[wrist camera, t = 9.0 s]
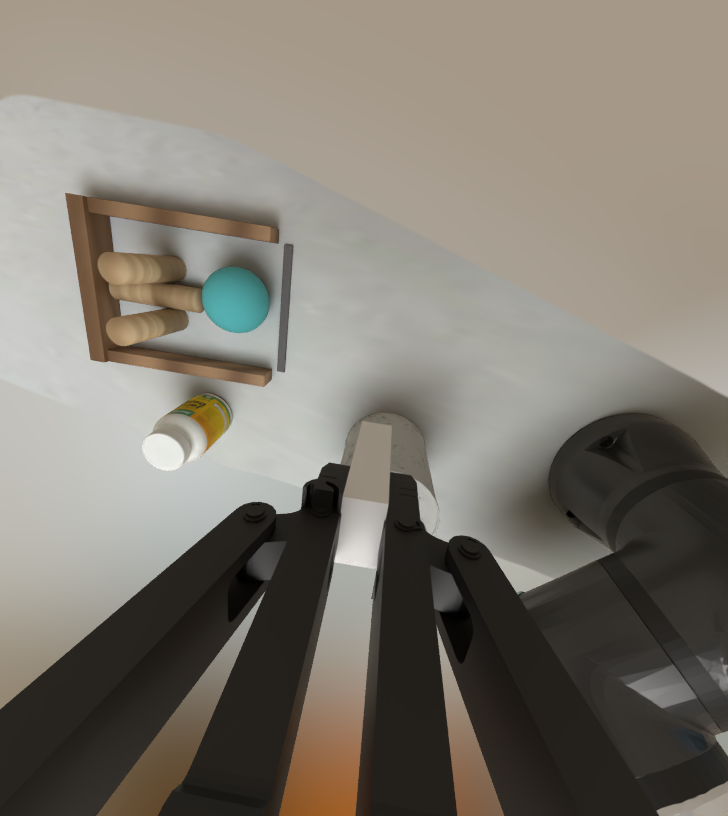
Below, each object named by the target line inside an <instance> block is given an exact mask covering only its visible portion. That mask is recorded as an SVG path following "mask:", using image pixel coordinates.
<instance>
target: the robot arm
mask: <svg viewBox="0 0 728 816" xmlns="http://www.w3.org/2000/svg"><path fill="white" fill-rule="evenodd" d="M391 435H392V426H391V425H384V424H378V423H372V422H366V421H362V424H361V428H360V432H359V436H358V440H357V443H356V447H355V451H354V455H353V459H352V463H351V466H347V465H341V464H335V463H328V464H327V465H325V466H324V467H323V468H322V470H321V472H320V474H319V477H318V479H314V480H311V481H309V482H307V483H306V484H305V485H304V486H303V494H302V507H301V510H299V511H297V512H293V513H288V514H276V510H275V509H274V508H273V507H272V506H271V505H269V504H267V503H262V502H251V503H247V504H244V505H242V506H240V507H239V508H238V509H236V510H235V511H234V512H233V513H231V514H230V515H229V516H228V517H227V518H225V519H224V520H223V521H222V522H221V523H220V524H219V525H217V526H216V527H215V528H214V529H213V530H211V531H210V532H209V533H208V534H207V535H206V536H204V537H203V538H202V539H201V540H199V541H198V542H197V543H196V544H195V545H194V546H192V547H191V548H190V549H189V550H188V551H186V552H185V553H184V554H183V555H182V556H181V557H179V558H178V559H177V560H176V561H175V562H174V563H173V564H171V565H170V566H169V567H168V568H166V569H165V570H164V571H163V572H162V573H161V574H159V575H158V576H157V577H156V578H155V579H153V580H152V581H151V582H150V583H149V584H148V585H147V586H145V587H144V588H143V589H142V590H141V591H140V592H138V593H137V594H136V595H135V596H133V597H132V598H131V599H130V600H129V601H128V602H126V603H125V604H124V605H123V606H122V607H120V608H119V609H118V610H117V611H116V612H115V613H113V614H112V615H111V616H110V617H109V618H108V619H107V620H105V621H104V622H103V623H102V624H100V625H99V626H98V627H97V628H96V629H95V630H93V631H92V632H91V633H90V634H89V635H87V636H86V637H85V638H84V639H83V640H82V641H80V642H79V643H78V644H77V645H76V646H74V647H73V648H72V649H71V650H70V651H69V652H67V653H66V654H65V655H64V656H63V657H62V658H60V659H59V660H58V661H57V662H56V663H54V664H53V665H52V666H51V667H50V668H49V669H47V670H46V671H45V672H44V673H43V674H41V675H40V676H39V677H38V678H37V679H36V680H34V681H33V682H32V683H31V684H30V685H29V686H27V687H26V688H25V689H24V690H23V691H21V692H20V693H19V694H18V695H17V696H16V697H14V698H13V699H12V700H11V701H10V702H9V703H7V704H6V705H5V706H4V707H3V708H2V709H0V816H96V815H97V814H98V813H99V811H100V810H101V809H102V807H103V806H104V804H105V803H106V802H107V801H108V799H109V798H110V797H111V795H112V794H113V793H114V791H115V790H116V789H117V787H118V786H119V785H120V783H121V782H122V780H123V779H124V778H125V776H126V775H127V774H128V773H129V771H130V770H131V769H132V767H133V766H134V765H135V763H136V762H137V761H138V759H139V758H140V757H141V755H142V754H143V753H144V751H145V750H146V749H147V747H148V746H149V745H150V743H151V742H152V741H153V740H154V738H155V737H156V736H157V734H158V733H159V731H160V730H161V729H162V727H163V726H164V725H165V724H166V722H167V721H168V720H169V718H170V717H171V715H172V714H173V713H174V712H175V710H176V709H177V708H178V706H179V705H180V704H181V702H182V700H183V699H184V698H185V697H186V695H187V694H188V693H189V692H190V690H191V689H192V687H193V686H194V685H195V684H196V682H197V681H198V680H199V678H200V677H201V676H202V674H203V673H204V672H205V670H206V669H207V668H208V666H209V665H210V664H211V662H212V661H213V660H214V658H215V657H216V656H217V654H218V653H219V652H220V650H221V649H222V647H224V645H225V644H226V643H227V641H228V640H229V638H230V637H231V636H232V635H233V633H234V632H235V630H236V629H237V628H238V627H239V625H240V624H241V623H242V621H243V620H244V619H245V617H246V616H247V615H248V613H249V612H250V611H251V609H252V608H253V607H254V605H255V604H256V603H257V601H258V600H259V599H260V597H261V596H262V595H263V593H264V592H265V594H264V596H263V599H262V601H261V603H260V606H259V608H258V610H257V613H256V615H255V617H254V620H253V622H252V624H251V627H250V629H249V631H248V634H247V636H246V638H245V641H244V643H243V645H242V648H241V650H240V652H239V655H238V657H237V660H236V662H235V665H234V667H233V669H232V671H231V673H230V676H229V678H228V680H227V683H226V685H225V688H224V690H223V692H222V695H221V697H220V699H219V702H218V704H217V706H216V709H215V711H214V713H213V716H212V718H211V720H210V723H209V725H208V727H207V730H206V732H205V734H204V737H203V739H202V741H201V744H200V746H199V748H198V751H197V753H196V756H195V758H194V760H193V762H192V765H191V767H190V769H189V771H188V773H187V776H186V777H185V779H184V781H183V782H182V783H181V784H180V785H179V786H178V787H176V789H174V790H173V791H172V792H171V794H170V796H169V797H168V799H167V800H166V802H165V803H164V805H163V807H162V809H161V811H160V813H159V815H158V816H279V812H280V808H281V803H282V798H283V794H284V790H285V785H286V781H287V776H288V772H289V767H290V763H291V758H292V754H293V749H294V745H295V740H296V736H297V731H298V727H299V722H300V718H301V713H302V709H303V704H304V700H305V695H306V691H307V686H308V682H309V677H310V673H311V668H312V664H313V659H314V655H315V650H316V646H317V641H318V637H319V632H320V627H321V623H322V619H323V613H324V610H325V605H326V601H327V596H328V591H329V587H330V582H331V578H332V572H333V564H334V562H337V563H343V564H348V565H354V566H360V567H365V568H371V569H377V571H376V577H375V582H374V587H373V593H372V599H373V607H372V619H371V632H370V644H369V657H368V669H367V681H366V694H365V707H364V718H363V731H362V742H361V755H360V767H359V779H358V792H357V804H356V816H457V810H456V800H455V792H454V782H453V773H452V764H451V755H450V746H449V737H448V727H447V718H446V709H445V700H444V691H443V682H442V674H441V664H440V655H439V646H438V638H437V628H438V631H439V633H440V636H441V639H442V642H443V645H444V647H445V650H446V653H447V656H448V658H449V661H450V664H451V667H452V670H453V673H454V676H455V678H456V681H457V684H458V687H459V690H460V692H461V695H462V698H463V701H464V704H465V706H466V709H467V712H468V714H469V718H470V720H471V723H472V726H473V729H474V732H475V734H476V737H477V740H478V743H479V746H480V748H481V751H482V754H483V757H484V760H485V762H486V765H487V768H488V771H489V774H490V776H491V779H492V782H493V785H494V788H495V790H496V793H497V796H498V799H499V802H500V804H501V807H502V810H503V813H504V816H728V756H727V755H726V753H725V752H724V750H723V749H722V747H721V746H720V745H719V743H718V742H717V740H716V738H715V735H717V734H719V733H722V732H726V731H728V479H727V478H725V477H724V476H723V475H722V474H721V473H720V472H719V470H718V469H717V468H716V467H715V465H714V464H713V463H712V461H711V460H710V459H709V458H708V456H707V455H706V454H705V453H704V452H703V450H702V449H701V448H700V446H699V445H698V444H697V442H696V441H695V440H694V439H693V438H692V437H691V436H690V435H688V434H687V433H686V432H685V431H683V430H682V429H680V428H678V427H676V426H674V425H673V424H671V423H669V422H667V421H665V420H663V419H661V418H658V417H655V416H651V415H646V414H622V415H616V416H612V417H608V418H605V419H602V420H599V421H597V422H595V423H592V424H591V425H589V426H587V427H585V428H583V429H582V430H580V431H579V432H578V433H576V434H575V435H574V436H573V437H572V438H570V439H569V440H568V441H567V442H566V443H565V445H564V446H563V447H562V448H561V449H560V451H559V452H558V454H557V455H556V457H555V459H554V461H553V464H552V466H551V470H550V474H549V489H550V493H551V496H552V498H553V500H554V502H555V504H556V505H557V507H558V508H559V509H560V511H561V512H562V513H563V515H564V516H565V517H566V518H567V519H568V521H570V522H571V523H572V524H573V525H574V526H576V527H577V528H578V529H580V530H581V531H583V532H585V533H586V534H588V535H589V536H591V537H592V538H594V539H595V540H597V541H598V542H600V543H601V544H603V545H605V546H606V547H608V548H609V549H611V550H612V551H613V552H614V553H612V554H610V555H608V556H606V557H603V558H601V559H598V560H596V561H594V562H591V563H589V564H587V565H585V566H583V567H581V568H579V569H576V570H574V571H572V572H570V573H568V574H566V575H563V576H561V577H559V578H557V579H555V580H553V581H550V582H548V583H546V584H543V585H541V586H539V587H536V588H534V589H532V590H529V591H527V592H522V591H521V592H518V593H516V591H515V590H514V588H513V587H512V585H511V584H510V582H509V580H508V579H507V578H506V576H505V574H504V573H503V571H502V570H501V568H500V566H499V565H498V563H497V562H496V560H495V559H494V557H493V556H492V554H491V552H490V551H489V550H488V548H487V547H486V546H485V545H484V544H482V543H481V542H479V541H478V540H476V539H474V538H471V537H468V536H454V537H453V538H452V539H450V541H449V543H448V542H445V541H443V540H440V539H438V538H436V537H434V536H432V535H431V534H429V533H428V532H427V531H426V528H425V526H424V523H423V522H422V521H421V520H420V510H419V500H418V492H417V491H418V490H417V482H416V481H415V480H414V478H413V477H412V475H407V474H401V473H395V472H390V459H391ZM603 567H604V568H603ZM436 625H437V628H436Z"/></svg>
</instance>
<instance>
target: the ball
mask: <svg viewBox="0 0 728 816" xmlns="http://www.w3.org/2000/svg"><path fill="white" fill-rule="evenodd" d="M202 303H203V307H204V309H205V311H206V313H207V315H208V317H209V318H210V319H211V320H212V321H213V322H214V323H215V324H216V325H217V326H219V327H220V328H222V329H224V330H226V331H229V332H234V333H244V332H249V331H251V330H254V329H255V328H257V327H258V326H259V325H261V324H262V322H263V321H264V320H265V318H266V316H267V314H268V310H269V296H268V292H267V290H266V288H265V286H264V284H263V283H262V281H261V280H260V279H259V278H258V277H257V276H256V275H254V274H253V273H252V272H250V271H248V270H246V269H243V268H239V267H225V268H222V269H219V270H217V271H215V272H214V273H213V274H211V275H210V276H209V278H208V279H207V280H206V282H205V284H204V286H203V290H202Z"/></svg>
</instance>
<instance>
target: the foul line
mask: <svg viewBox="0 0 728 816" xmlns="http://www.w3.org/2000/svg"><path fill="white" fill-rule="evenodd" d="M292 254H293V246H290V245H284V260H283V277H282V295H281V312H280V329H279V347H278V364H277V371H280V372H285V360H286V345H287V330H288V315H289V300H290V285H291V270H292Z"/></svg>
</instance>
